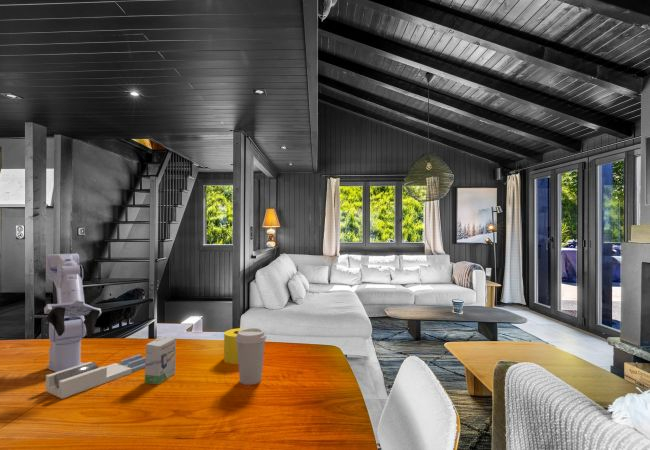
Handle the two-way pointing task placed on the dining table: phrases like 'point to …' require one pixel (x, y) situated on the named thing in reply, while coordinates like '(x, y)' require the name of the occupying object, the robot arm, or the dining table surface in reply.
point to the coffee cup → (250, 354)
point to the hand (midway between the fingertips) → (76, 334)
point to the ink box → (160, 360)
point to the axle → (74, 372)
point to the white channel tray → (85, 379)
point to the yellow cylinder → (231, 346)
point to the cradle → (134, 362)
